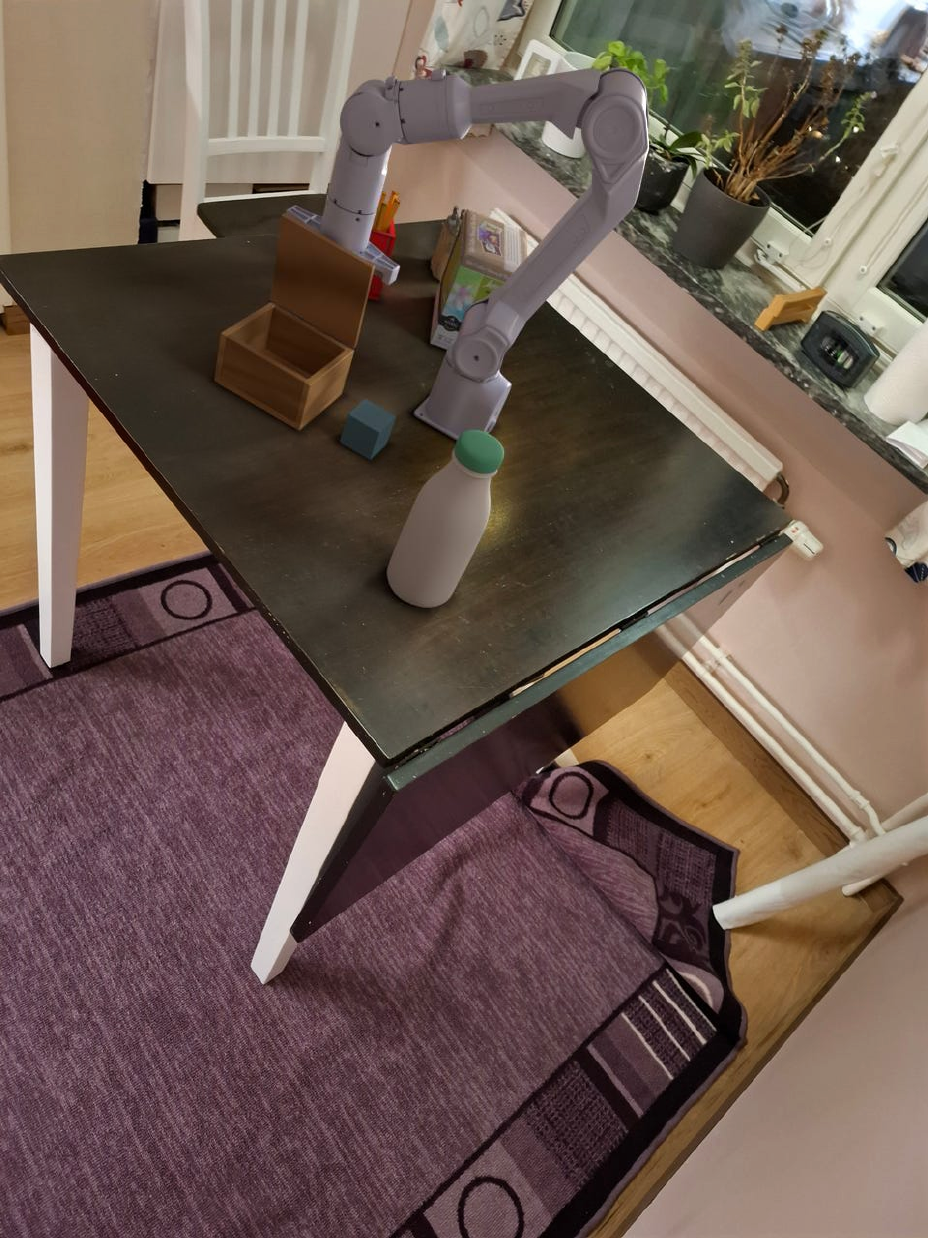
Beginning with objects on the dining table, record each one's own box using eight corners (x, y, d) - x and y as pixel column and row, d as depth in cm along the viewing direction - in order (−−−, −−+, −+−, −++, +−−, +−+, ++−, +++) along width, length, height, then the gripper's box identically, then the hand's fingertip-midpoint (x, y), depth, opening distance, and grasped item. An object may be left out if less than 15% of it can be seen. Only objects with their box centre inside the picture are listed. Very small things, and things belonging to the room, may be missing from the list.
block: (386, 443, 104) (396, 416, 100) (370, 460, 101) (379, 432, 97) (356, 426, 104) (365, 398, 101) (339, 442, 101) (347, 413, 98)
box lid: (372, 267, 92) (375, 265, 93) (280, 214, 93) (284, 212, 93) (353, 348, 101) (356, 346, 102) (270, 300, 102) (273, 297, 102)
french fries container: (316, 262, 125) (337, 169, 115) (375, 278, 128) (400, 189, 118) (317, 287, 121) (338, 193, 111) (377, 302, 124) (403, 212, 114)
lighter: (453, 285, 135) (474, 227, 128) (431, 279, 134) (451, 221, 127) (449, 263, 139) (469, 206, 132) (428, 257, 138) (447, 199, 131)
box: (298, 431, 99) (310, 385, 94) (214, 380, 100) (220, 332, 95) (341, 394, 107) (354, 350, 102) (262, 347, 107) (271, 301, 102)
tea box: (491, 366, 123) (530, 277, 113) (428, 345, 121) (461, 251, 110) (492, 315, 133) (528, 228, 123) (434, 294, 131) (465, 204, 120)
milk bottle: (443, 620, 88) (514, 485, 74) (376, 593, 87) (434, 451, 73) (458, 572, 94) (526, 438, 79) (395, 546, 93) (453, 405, 78)
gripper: (278, 177, 90) (259, 288, 100) (391, 242, 90) (361, 347, 100) (312, 163, 95) (290, 270, 105) (418, 225, 95) (387, 326, 105)
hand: (326, 306), depth 103 cm, fingers closed
